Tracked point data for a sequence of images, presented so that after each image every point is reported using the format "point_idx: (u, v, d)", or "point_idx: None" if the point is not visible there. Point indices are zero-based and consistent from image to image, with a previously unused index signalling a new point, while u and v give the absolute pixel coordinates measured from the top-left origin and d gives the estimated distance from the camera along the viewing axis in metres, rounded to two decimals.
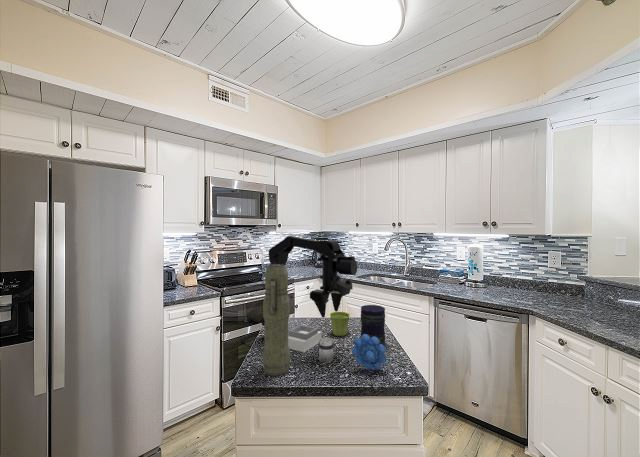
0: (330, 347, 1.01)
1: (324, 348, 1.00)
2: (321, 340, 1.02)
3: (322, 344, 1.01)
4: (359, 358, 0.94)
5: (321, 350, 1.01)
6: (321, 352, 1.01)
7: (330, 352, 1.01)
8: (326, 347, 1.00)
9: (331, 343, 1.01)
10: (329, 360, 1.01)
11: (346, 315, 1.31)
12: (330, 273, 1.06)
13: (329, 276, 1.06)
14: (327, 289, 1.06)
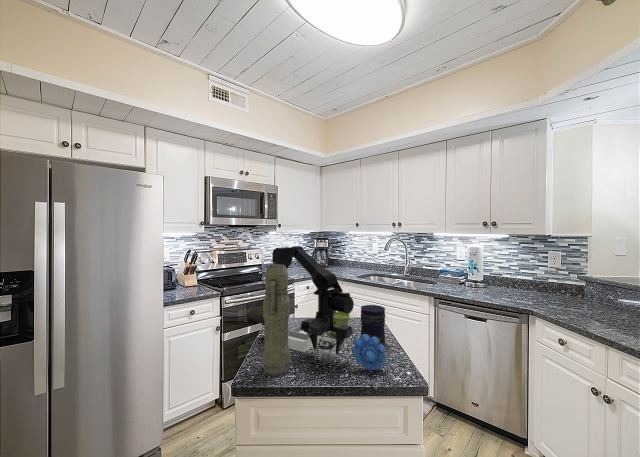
0: (330, 347, 1.01)
1: (324, 348, 1.00)
2: (321, 340, 1.02)
3: (322, 344, 1.01)
4: (359, 358, 0.94)
5: (321, 350, 1.01)
6: (321, 352, 1.01)
7: (330, 352, 1.01)
8: (326, 347, 1.00)
9: (331, 343, 1.01)
10: (329, 360, 1.01)
11: (346, 315, 1.31)
12: (325, 309, 1.00)
13: (318, 310, 1.03)
14: None
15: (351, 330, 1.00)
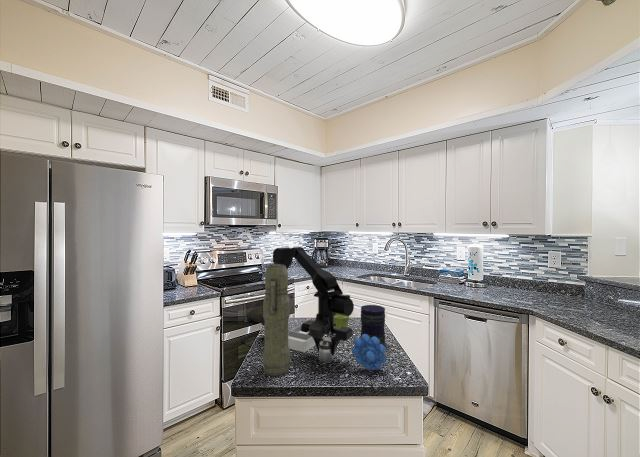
0: (330, 347, 1.01)
1: (324, 348, 1.00)
2: (321, 340, 1.02)
3: (322, 344, 1.01)
4: (359, 358, 0.94)
5: (321, 350, 1.01)
6: (321, 352, 1.01)
7: (330, 352, 1.01)
8: (326, 347, 1.00)
9: (331, 343, 1.01)
10: (329, 360, 1.01)
11: None
12: (325, 311, 1.00)
13: (318, 312, 1.03)
14: None
15: (351, 332, 1.00)
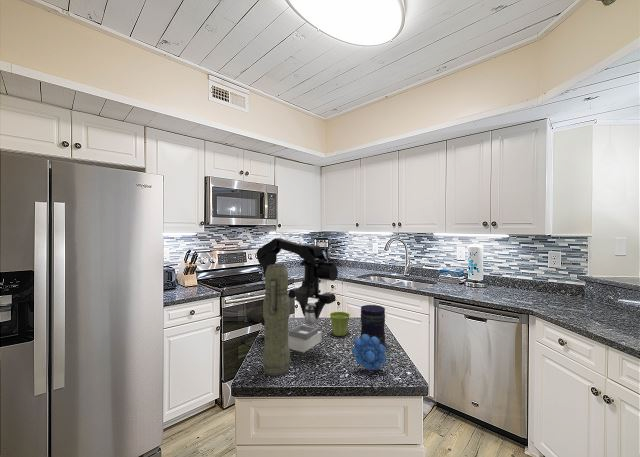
0: (314, 311, 1.09)
1: (309, 311, 1.09)
2: (306, 305, 1.11)
3: (307, 308, 1.09)
4: (359, 358, 0.94)
5: (306, 313, 1.09)
6: (306, 315, 1.10)
7: (314, 315, 1.09)
8: (310, 311, 1.09)
9: (315, 307, 1.10)
10: (313, 323, 1.09)
11: (346, 315, 1.31)
12: (311, 278, 1.08)
13: None
14: None
15: (334, 297, 1.08)
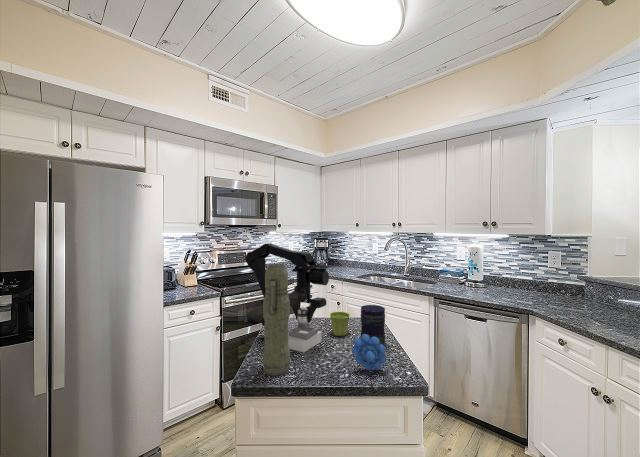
0: (306, 315, 1.14)
1: (301, 315, 1.14)
2: (298, 309, 1.16)
3: (299, 312, 1.14)
4: (359, 358, 0.94)
5: (299, 317, 1.15)
6: (298, 319, 1.15)
7: (306, 319, 1.15)
8: (303, 315, 1.14)
9: (307, 311, 1.15)
10: (305, 326, 1.14)
11: (346, 315, 1.31)
12: (304, 283, 1.14)
13: None
14: None
15: (325, 302, 1.13)
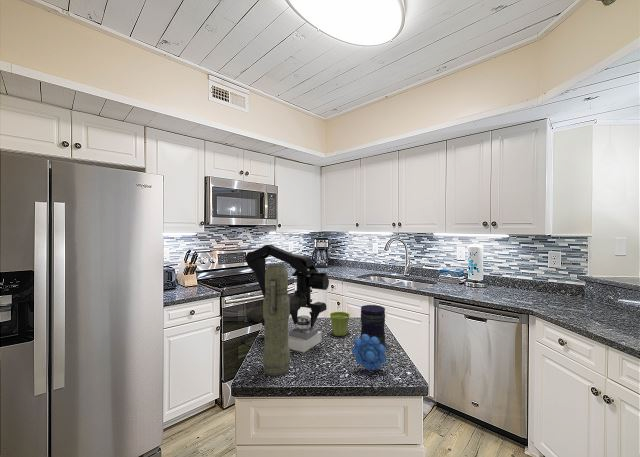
0: (306, 323, 1.14)
1: (301, 324, 1.14)
2: (298, 317, 1.16)
3: (299, 320, 1.14)
4: (359, 358, 0.94)
5: (299, 326, 1.14)
6: (299, 328, 1.15)
7: (306, 328, 1.14)
8: (303, 323, 1.14)
9: (307, 320, 1.15)
10: None
11: (346, 315, 1.31)
12: (304, 288, 1.14)
13: None
14: None
15: (325, 306, 1.13)
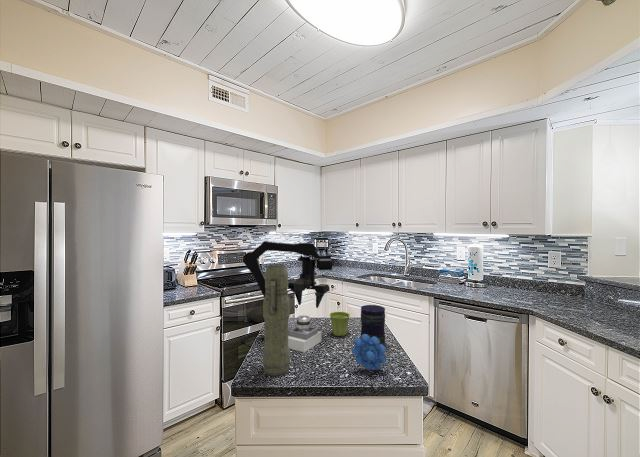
0: (306, 323, 1.14)
1: (301, 324, 1.14)
2: (298, 317, 1.16)
3: (299, 320, 1.14)
4: (359, 358, 0.94)
5: (299, 326, 1.14)
6: (299, 328, 1.15)
7: (306, 328, 1.14)
8: (303, 323, 1.14)
9: (307, 320, 1.15)
10: None
11: (346, 315, 1.31)
12: (312, 270, 1.24)
13: None
14: None
15: (328, 288, 1.22)
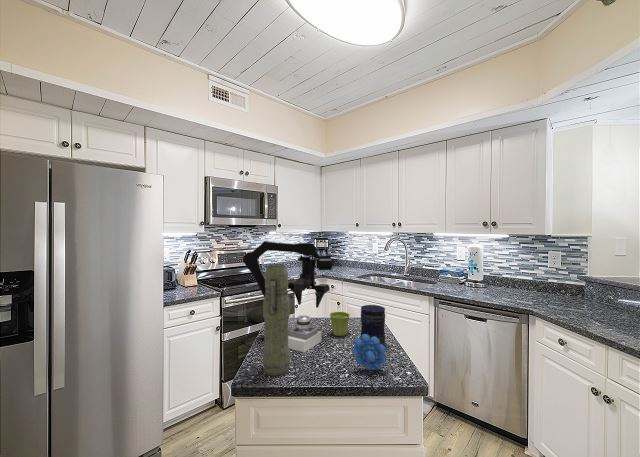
0: (306, 323, 1.14)
1: (301, 324, 1.14)
2: (298, 317, 1.16)
3: (299, 320, 1.14)
4: (359, 358, 0.94)
5: (299, 326, 1.14)
6: (299, 328, 1.15)
7: (306, 328, 1.14)
8: (303, 323, 1.14)
9: (307, 320, 1.15)
10: None
11: (346, 315, 1.31)
12: (312, 270, 1.24)
13: None
14: None
15: (328, 287, 1.23)
